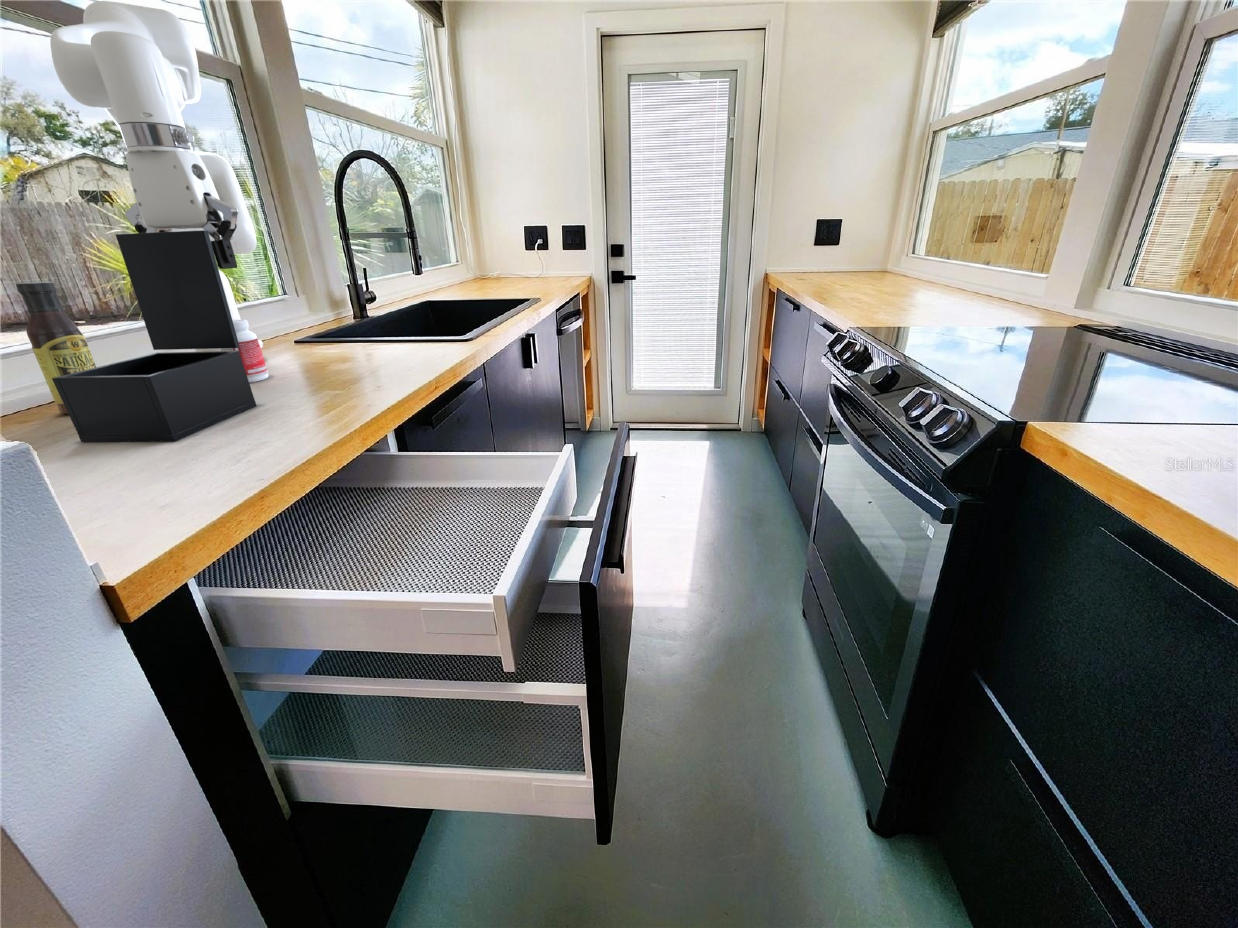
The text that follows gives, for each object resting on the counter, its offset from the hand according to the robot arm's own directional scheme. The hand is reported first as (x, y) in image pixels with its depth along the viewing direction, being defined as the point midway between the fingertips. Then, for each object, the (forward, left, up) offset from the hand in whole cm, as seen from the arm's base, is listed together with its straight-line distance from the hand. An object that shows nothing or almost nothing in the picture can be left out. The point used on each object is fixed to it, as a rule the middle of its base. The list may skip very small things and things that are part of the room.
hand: (199, 269), depth 83 cm
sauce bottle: (+7, -22, -21) cm, 31 cm away
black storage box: (+14, 0, -21) cm, 25 cm away
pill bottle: (-11, -7, -21) cm, 25 cm away
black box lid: (+6, 0, -3) cm, 6 cm away
